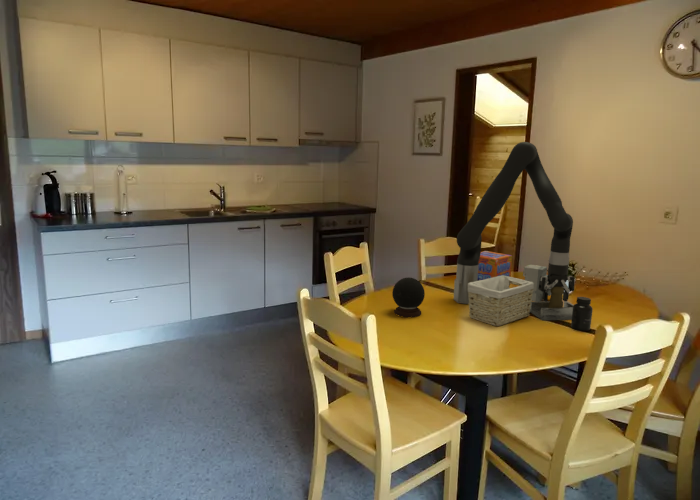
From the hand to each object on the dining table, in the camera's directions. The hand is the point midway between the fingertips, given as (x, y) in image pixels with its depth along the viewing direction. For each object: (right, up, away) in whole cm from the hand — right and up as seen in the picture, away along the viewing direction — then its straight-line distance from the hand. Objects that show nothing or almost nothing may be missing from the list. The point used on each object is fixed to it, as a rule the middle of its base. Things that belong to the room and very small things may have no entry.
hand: (555, 301), depth 205 cm
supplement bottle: (+4, -9, -14) cm, 17 cm away
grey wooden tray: (0, -6, +1) cm, 6 cm away
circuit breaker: (+2, -2, +23) cm, 23 cm away
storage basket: (-24, -7, -2) cm, 25 cm away
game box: (-14, +3, +49) cm, 51 cm away
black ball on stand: (-60, -5, +1) cm, 61 cm away
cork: (0, -5, +1) cm, 5 cm away
